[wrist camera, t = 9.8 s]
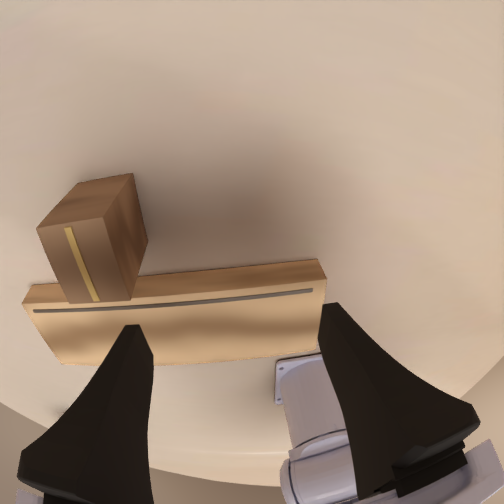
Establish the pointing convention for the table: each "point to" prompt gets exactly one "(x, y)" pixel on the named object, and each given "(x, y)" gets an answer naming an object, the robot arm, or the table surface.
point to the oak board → (191, 315)
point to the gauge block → (96, 240)
